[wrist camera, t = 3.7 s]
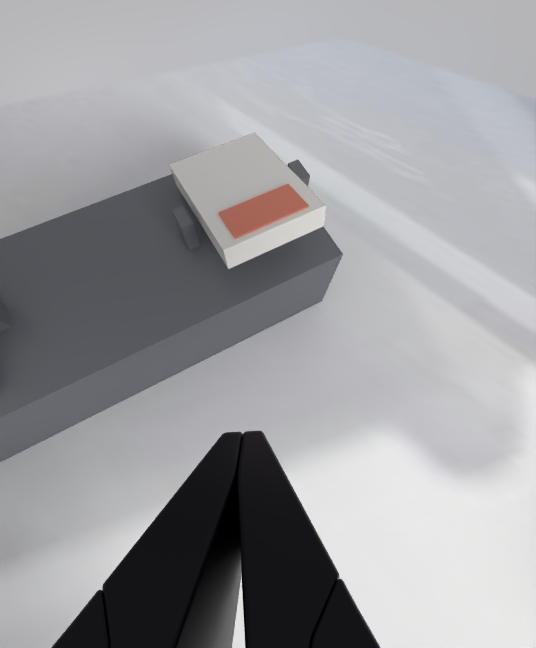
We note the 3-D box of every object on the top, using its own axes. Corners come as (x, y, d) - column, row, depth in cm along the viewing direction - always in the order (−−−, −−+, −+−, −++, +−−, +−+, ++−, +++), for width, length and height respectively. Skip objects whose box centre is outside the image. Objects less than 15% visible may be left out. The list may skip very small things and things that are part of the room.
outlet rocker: (323, 226, 15) (326, 203, 14) (228, 269, 14) (222, 248, 13) (256, 153, 18) (254, 130, 17) (176, 184, 18) (168, 162, 16)
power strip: (321, 300, 22) (352, 233, 15) (-21, 471, 18) (-209, 494, 11) (260, 204, 25) (260, 107, 18) (-51, 335, 21) (-219, 279, 14)
